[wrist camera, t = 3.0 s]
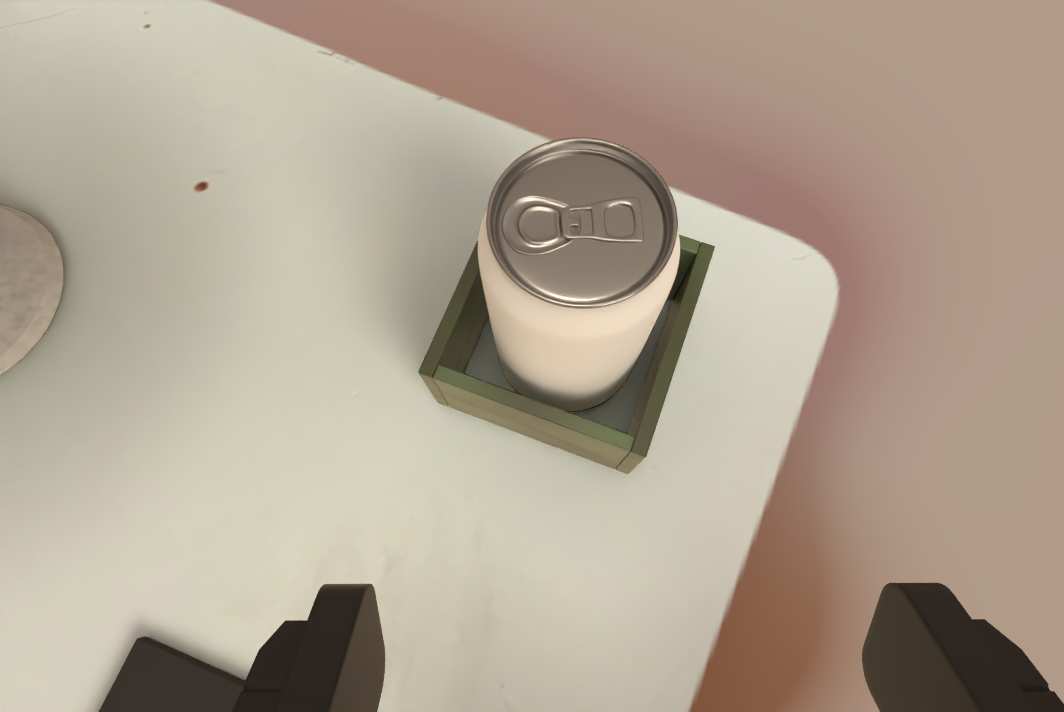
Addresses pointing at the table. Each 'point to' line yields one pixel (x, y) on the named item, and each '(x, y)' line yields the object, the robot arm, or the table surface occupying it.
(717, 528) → the table surface
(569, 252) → the can
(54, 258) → the table lamp
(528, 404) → the caddy
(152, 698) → the mat
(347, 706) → the robot arm
